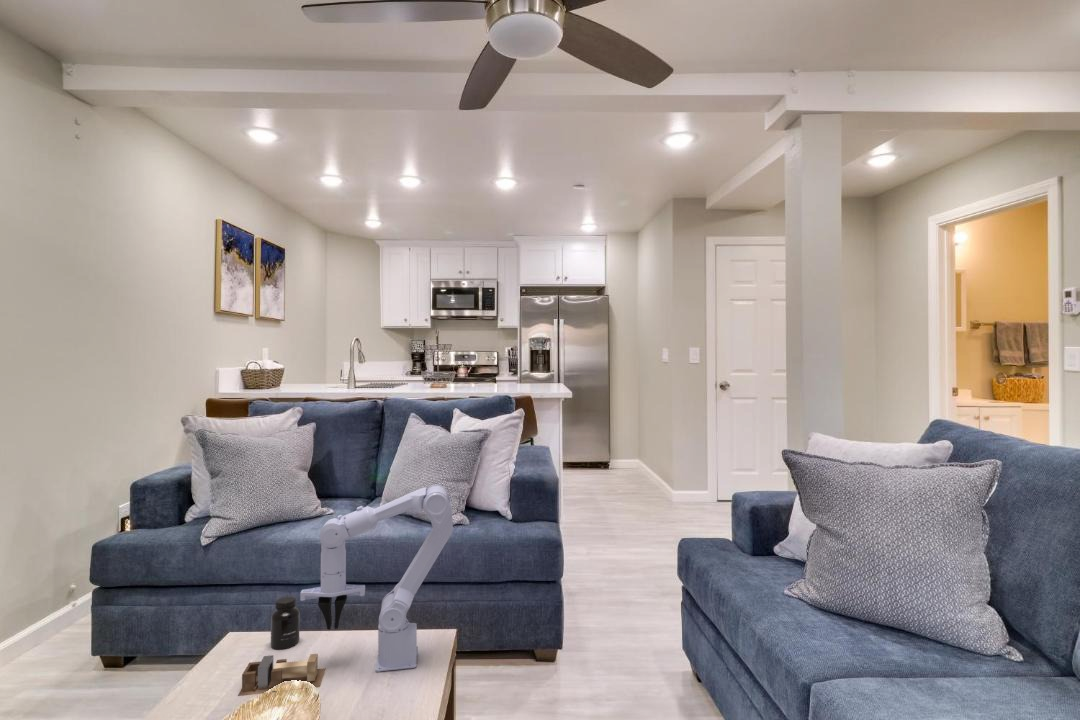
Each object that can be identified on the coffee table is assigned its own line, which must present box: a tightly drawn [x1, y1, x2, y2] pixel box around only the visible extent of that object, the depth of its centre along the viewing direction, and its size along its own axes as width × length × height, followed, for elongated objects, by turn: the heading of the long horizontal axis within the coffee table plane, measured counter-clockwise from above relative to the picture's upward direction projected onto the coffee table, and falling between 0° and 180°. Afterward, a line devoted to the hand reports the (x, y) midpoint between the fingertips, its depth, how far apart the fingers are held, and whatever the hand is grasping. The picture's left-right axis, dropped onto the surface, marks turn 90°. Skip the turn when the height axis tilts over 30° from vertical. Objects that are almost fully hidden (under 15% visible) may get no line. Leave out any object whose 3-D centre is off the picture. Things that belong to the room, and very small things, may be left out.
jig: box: [237, 658, 327, 697], centre depth 128 cm, size 17×8×5 cm, turn 102°
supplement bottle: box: [270, 596, 301, 651], centre depth 146 cm, size 7×7×12 cm
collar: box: [258, 654, 275, 690], centre depth 128 cm, size 2×5×5 cm, turn 12°
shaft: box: [273, 653, 319, 682], centre depth 129 cm, size 9×4×4 cm, turn 102°
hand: (333, 627), depth 135 cm, fingers closed
